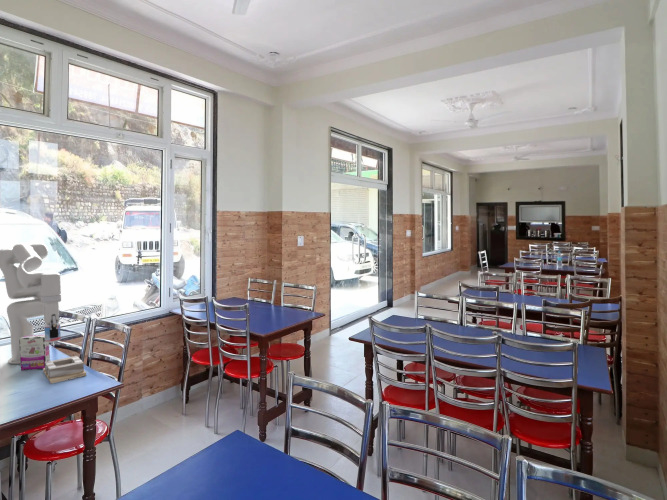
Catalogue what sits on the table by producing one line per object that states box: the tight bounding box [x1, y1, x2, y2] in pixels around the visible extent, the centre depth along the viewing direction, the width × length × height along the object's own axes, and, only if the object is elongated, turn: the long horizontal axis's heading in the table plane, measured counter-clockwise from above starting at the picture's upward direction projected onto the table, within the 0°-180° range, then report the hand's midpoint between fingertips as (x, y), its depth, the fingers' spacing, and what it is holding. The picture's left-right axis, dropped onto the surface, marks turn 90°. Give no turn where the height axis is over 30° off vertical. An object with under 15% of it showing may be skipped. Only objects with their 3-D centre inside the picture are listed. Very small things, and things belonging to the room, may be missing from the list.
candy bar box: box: [19, 334, 51, 371], centre depth 196 cm, size 11×5×16 cm, turn 102°
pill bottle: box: [44, 321, 62, 344], centre depth 186 cm, size 6×6×11 cm
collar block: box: [42, 355, 87, 385], centre depth 190 cm, size 20×14×6 cm
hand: (52, 335), depth 186 cm, fingers closed on pill bottle, 6 cm apart
